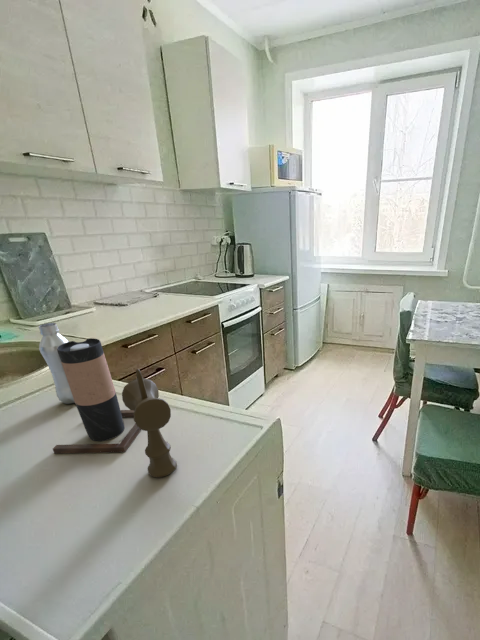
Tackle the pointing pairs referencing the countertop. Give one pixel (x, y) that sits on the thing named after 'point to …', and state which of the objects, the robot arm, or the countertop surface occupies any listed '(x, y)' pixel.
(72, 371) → the travel mug
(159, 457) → the kendama
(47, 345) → the plastic bottle
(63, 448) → the frame
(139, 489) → the countertop surface
